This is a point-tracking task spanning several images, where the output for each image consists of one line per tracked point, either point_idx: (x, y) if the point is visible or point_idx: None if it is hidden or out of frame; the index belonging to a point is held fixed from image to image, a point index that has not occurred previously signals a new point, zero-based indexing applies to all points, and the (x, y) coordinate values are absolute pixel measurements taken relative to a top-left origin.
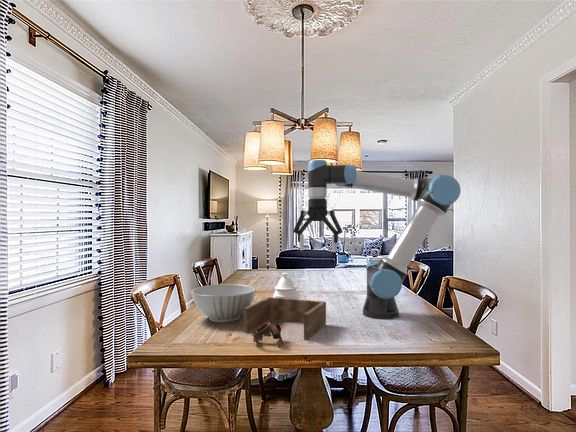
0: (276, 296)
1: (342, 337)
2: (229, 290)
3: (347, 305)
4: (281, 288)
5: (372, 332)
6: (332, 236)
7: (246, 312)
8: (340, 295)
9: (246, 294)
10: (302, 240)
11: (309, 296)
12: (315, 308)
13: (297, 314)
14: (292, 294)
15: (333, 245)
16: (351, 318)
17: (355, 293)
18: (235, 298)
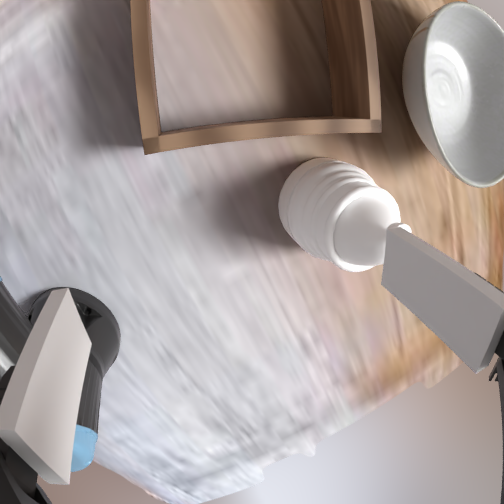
0: (369, 180)
1: (59, 59)
2: (487, 170)
3: (198, 370)
4: (369, 189)
5: (9, 152)
6: (13, 412)
7: None
8: (260, 428)
9: (422, 47)
10: (445, 297)
11: (326, 386)
12: (134, 29)
13: (249, 121)
14: (323, 208)
15: (34, 326)
16: (115, 255)
17: (236, 451)
18: (427, 19)
